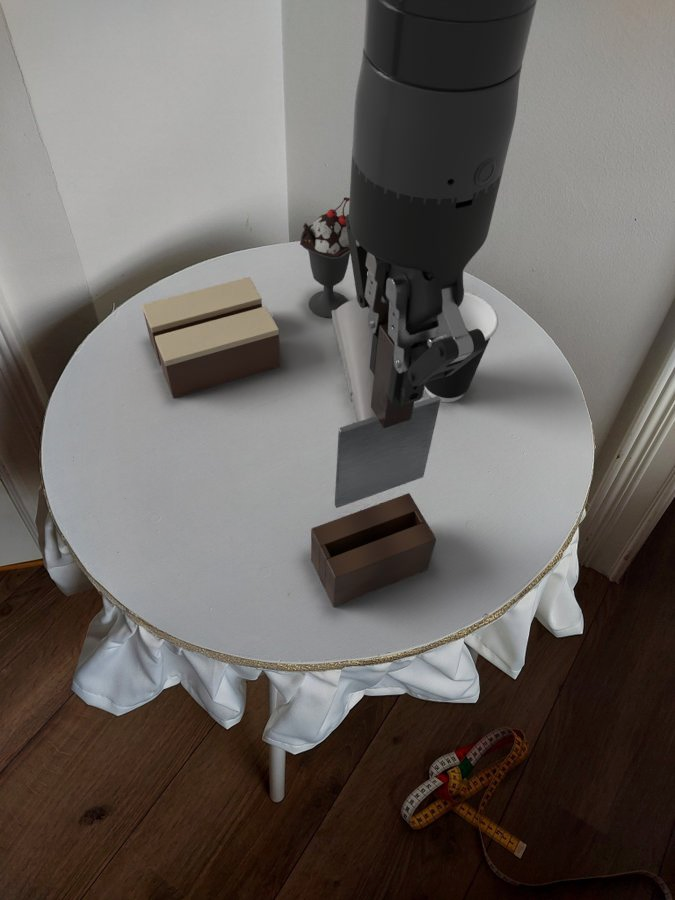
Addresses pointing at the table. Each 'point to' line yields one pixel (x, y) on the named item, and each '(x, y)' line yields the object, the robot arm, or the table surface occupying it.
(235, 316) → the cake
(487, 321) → the dixie cup
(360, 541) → the knife stand
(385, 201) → the robot arm
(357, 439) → the knife
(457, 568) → the table surface
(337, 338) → the long tapered cone
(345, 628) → the table surface
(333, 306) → the sundae
